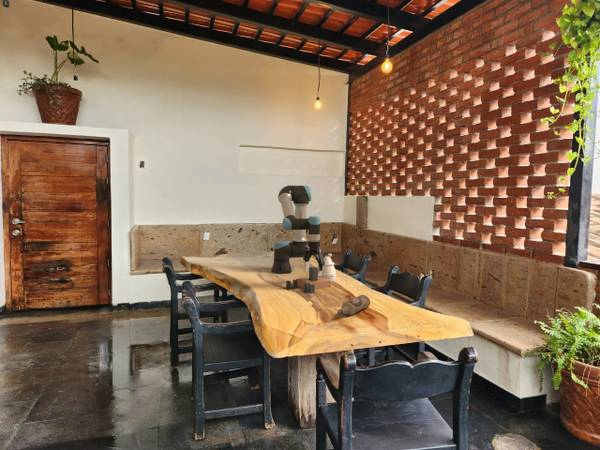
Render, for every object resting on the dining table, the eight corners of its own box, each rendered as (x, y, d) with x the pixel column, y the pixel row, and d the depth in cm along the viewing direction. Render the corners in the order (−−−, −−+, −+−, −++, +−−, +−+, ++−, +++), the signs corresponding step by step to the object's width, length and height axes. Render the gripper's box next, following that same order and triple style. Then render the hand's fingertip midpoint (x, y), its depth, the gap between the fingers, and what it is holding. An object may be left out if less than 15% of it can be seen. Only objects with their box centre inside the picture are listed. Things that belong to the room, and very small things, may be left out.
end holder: (295, 284, 243) (295, 278, 243) (315, 281, 252) (315, 275, 252) (310, 290, 230) (310, 283, 229) (330, 286, 239) (330, 280, 238)
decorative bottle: (331, 317, 180) (331, 304, 179) (357, 305, 200) (358, 293, 199) (344, 321, 175) (345, 307, 174) (370, 308, 195) (371, 295, 195)
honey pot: (336, 278, 264) (336, 252, 263) (335, 282, 251) (336, 255, 250) (317, 277, 265) (318, 252, 264) (316, 281, 253) (317, 255, 251)
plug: (308, 285, 241) (309, 267, 240) (313, 284, 244) (314, 266, 243) (312, 286, 238) (312, 268, 237) (317, 286, 240) (317, 267, 239)
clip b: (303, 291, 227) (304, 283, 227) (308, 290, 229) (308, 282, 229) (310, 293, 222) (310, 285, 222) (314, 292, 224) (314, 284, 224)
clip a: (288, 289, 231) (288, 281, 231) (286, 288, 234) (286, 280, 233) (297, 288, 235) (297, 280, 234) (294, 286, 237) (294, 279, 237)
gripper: (298, 238, 247) (297, 270, 248) (321, 243, 226) (320, 278, 228) (307, 238, 251) (306, 269, 253) (331, 242, 230) (330, 276, 232)
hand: (313, 273), depth 240 cm, fingers open, 13 cm apart
